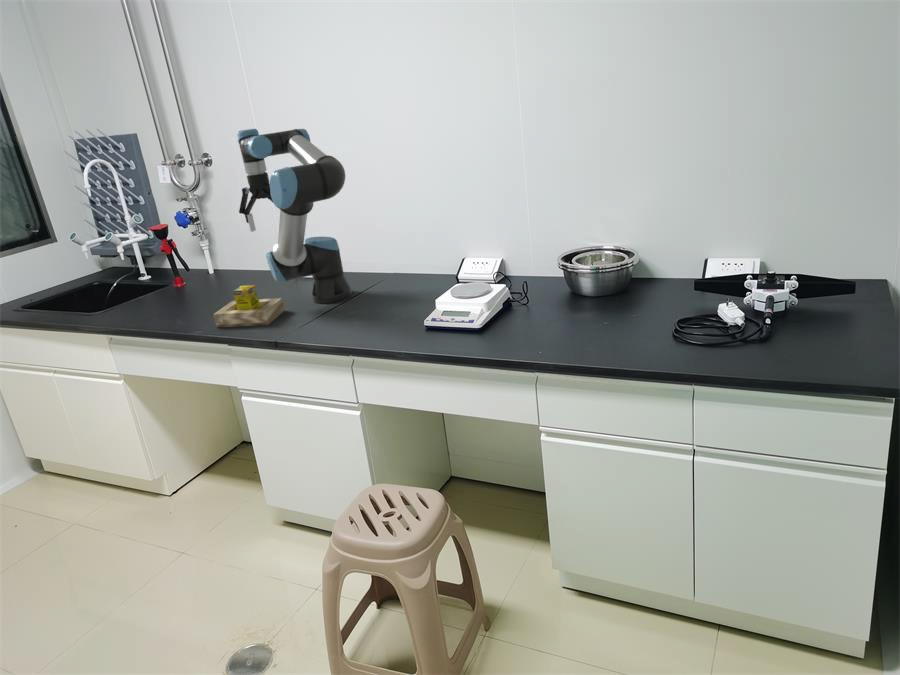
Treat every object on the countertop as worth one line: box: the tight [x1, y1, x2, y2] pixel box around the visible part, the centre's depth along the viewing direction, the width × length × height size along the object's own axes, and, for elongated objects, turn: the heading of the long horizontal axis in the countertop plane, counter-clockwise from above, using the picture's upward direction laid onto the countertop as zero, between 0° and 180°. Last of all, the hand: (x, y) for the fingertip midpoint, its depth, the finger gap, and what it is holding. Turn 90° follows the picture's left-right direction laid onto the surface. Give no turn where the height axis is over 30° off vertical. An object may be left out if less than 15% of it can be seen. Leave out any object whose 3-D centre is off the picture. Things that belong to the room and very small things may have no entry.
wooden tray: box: [213, 297, 286, 328], centre depth 232 cm, size 20×14×5 cm
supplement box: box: [232, 284, 261, 310], centre depth 231 cm, size 6×6×11 cm
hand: (269, 229), depth 245 cm, fingers open, 13 cm apart
